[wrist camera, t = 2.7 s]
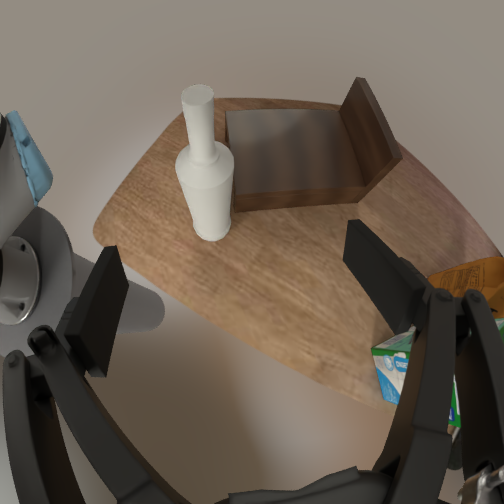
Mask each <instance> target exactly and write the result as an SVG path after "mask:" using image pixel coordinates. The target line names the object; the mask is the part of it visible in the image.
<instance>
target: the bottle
mask: <svg viewBox="0 0 504 504" xmlns="http://www.w3.org/2000/svg"><path fill="white" fill-rule="evenodd" d="M181 100H182V106H183V112H184V117H185V119H186V125H187V131H188V137H189V143H190V144H189V145H187V146H186V147H185V148H184V149H183V150H182V151H181V152H180V153H179V155H178V157H177V159H176V173H177V176H178V179H179V182H180V184H181V187H182V190H183V193H184V196H185V198H186V201H187V204H188V207H189V209H190V212H191V215H192V218H193V226H194V229H195V231H196V233H197V234H198V235H199V236H200V237H201V238H202V239H204V240H207V241H218V240H220V239H222V238H223V237H224V236H225V235H226V234H227V233H228V231H229V229H230V226H231V216H230V204H231V194H232V183H233V173H234V157H233V155H232V153H231V152H230V150H229V148H227V147H226V146H225V145H223V144H222V143H220V142H217V141H215V138H214V92H213V90H212V88H211V87H209V86H207V85H203V84H197V85H192V86H189V87H188V88H186V89H185V90H184V91H183V92H182V95H181Z"/></svg>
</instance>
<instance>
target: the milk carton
mask: <svg viewBox="0 0 504 504" xmlns="http://www.w3.org/2000/svg"><path fill="white" fill-rule="evenodd" d="M495 321H496V324H497V326H498V329H499V332H500V334H501V337H502V340H503V342H504V318H497V319H495ZM415 329H416V327H415V326H412V327H411V328H409V331H408V332H406V333H403V334H399V335H396V336H394V337H392V338H390V339H388V340H387V341H385V342H383V343H381V344H379V345H377V346H375V347H373V348H371V351H372V354H373V358H374V362H375V366H376V369H377V373H378V377H379V381H380V385H381V390H382V394H383V398H384V400H387V401H389V402H392V403H394V404H397V405H398V402H399V398H400V395H401V391H402V387H403V383H404V379H405V374H406V370H407V365H408V360H409V355H410V350H411V345H412V342H411V344H408V343H409V341H410V339H411V337H412V335H413V333H414V331H415ZM470 334H471V332H470ZM448 424H451V425H454V426H457V427H460V428H461V423H460V412H459V403H458V395H457V388H456V381H455V375H454V383H453V393H452V402H451V409H450V416H449V422H448Z"/></svg>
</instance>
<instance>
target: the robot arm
mask: <svg viewBox="0 0 504 504" xmlns="http://www.w3.org/2000/svg"><path fill="white" fill-rule="evenodd" d="M52 181H53V175H52V172H51V170H50V168H49V166H48V165H47V163H46V161H45V160H44V158H43V156H42V155H41V153H40V151H39V149H38V148H37V146H36V144H35V142H34V141H33V139H32V137H31V135H30V134H29V132H28V130H27V128H26V126H25V125H24V123H23V121H22V119H21V117H20V116H19V114H18V112H17V111H15V110H14V111H12V112H11V113H8V114H7V115H6V117H5V118H4V117H3V116H2V114H1V113H0V323H3V324H6V325H20V324H22V323H24V322H25V321H26V320H28V319H29V318H30V316H31V315H32V314H33V312H34V310H35V308H36V306H37V304H38V301H39V298H40V294H41V288H42V268H41V263H40V259H39V256H38V253H37V251H36V250H35V248H34V247H33V246H32V244H31V243H29V242H28V241H26V240H24V239H22V238H20V237H16V236H11V235H12V234H13V232H14V231H15V230H16V229H17V228H18V226H19V225H20V224H21V223H22V222H23V220H24V219H25V218H26V217H27V216H28V215H29V213H30V212H31V211H32V210H33V209H34V208H36V207H37V205H38V202H39V201H40V200H41V198H42V197H43V196H44V195H45V194H46V193H47V191H48V190H49V189H50V187H51V185H52ZM343 261H344V263H345V264H346V265H347V267H348V268H349V269H350V271H351V272H352V273H353V275H354V276H355V278H356V279H357V280H358V282H359V283H360V284H361V286H362V287H363V289H364V290H365V291H366V293H367V294H368V296H369V297H370V299H371V300H372V301H373V303H374V304H375V306H376V307H377V309H378V310H379V312H380V313H381V314H382V316H383V317H384V319H385V320H386V322H387V323H388V325H389V326H390V328H391V329H392V331H393V332H394V334H395V335H399V334H403V333H406V332H408V331H409V328H410V326H411V324H412V323H413V324H414V326H415V327H416V329H415V331H414V333H413V335H412V337H411V339H410V341H409V343H408V344H411V342H412V345H411V350H410V355H409V360H408V365H407V370H406V374H405V379H404V383H403V387H402V391H401V395H400V398H399V402H398V406H397V409H396V412H395V416H394V419H393V422H392V426H391V429H390V432H389V435H388V438H387V440H386V443H385V446H384V449H383V451H382V453H381V455H380V457H379V458H378V460H377V461H376V463H375V465H374V467H373V469H372V471H370V470H358V469H357V467H356V466H354V467H351V468H348V469H346V470H342V471H339V472H336V473H333V474H329V475H326V476H325V477H323V478H321V479H319V480H317V481H315V482H314V483H311V484H309V485H307V486H305V487H303V488H301V489H299V490H295V491H283V490H282V491H280V490H255V491H247V492H239V493H229V494H228V495H229V498H227V499H223V500H221V501H219V502H216V503H215V504H450V503H447V502H445V501H442V500H440V499H438V497H439V493H440V490H441V487H442V484H443V480H444V476H445V473H446V469H447V465H448V461H449V456H450V452H451V447H452V439H453V438H452V435H450V434H448V432H447V428H448V422H449V416H450V409H451V402H452V393H453V383H454V375H455V381H456V388H457V395H458V403H459V412H460V423H461V439H462V465H463V474H464V480H465V483H464V485H463V488H461V489H460V491H459V492H458V499H459V500H460V501H461V504H504V342H503V340H502V337H501V334H500V332H499V329H498V326H497V324H496V321H495V319H494V316H493V314H492V312H491V309H490V307H489V305H488V302H487V300H486V298H485V296H484V295H483V294H482V293H481V292H480V291H478V290H475V289H468V290H466V292H465V294H464V297H454V296H453V295H452V294H451V293H450V292H449V291H448V290H445V289H443V288H434V286H433V285H432V284H431V283H430V282H429V281H428V280H427V279H426V278H425V277H424V276H423V275H422V274H420V272H419V271H418V270H417V269H416V268H415V267H414V265H413V264H412V263H411V262H409V261H408V260H406V259H404V258H402V257H400V258H399V257H398V256H397V255H396V254H395V253H394V252H393V251H392V250H391V249H390V248H389V247H388V246H387V245H386V244H385V243H384V242H383V241H382V240H381V239H380V238H379V237H378V236H377V235H376V234H375V233H374V232H372V231H371V230H370V229H369V228H368V227H367V226H366V225H365V224H364V223H363V222H362V221H361V220H360V219H356V220H348V226H347V233H346V241H345V248H344V254H343ZM128 288H129V284H128V281H127V278H126V275H125V272H124V268H123V266H122V262H121V259H120V256H119V252H118V249H117V246H116V245H115V246H108V247H104V249H103V250H102V252H101V254H100V256H99V258H98V260H97V262H96V264H95V266H94V268H93V270H92V272H91V274H90V276H89V278H88V280H87V282H86V284H85V286H84V288H83V290H82V292H81V294H80V297H74V298H73V299H72V300H71V301H70V302H69V303H68V304H67V306H66V308H65V310H64V314H63V315H62V317H61V320H60V321H59V324H58V326H57V328H56V331H55V333H54V331H53V330H52V328H51V327H50V326H48V325H41V326H39V327H36V328H35V329H34V330H33V331H32V332H31V333H30V335H29V337H28V339H27V341H28V345H29V347H30V348H31V349H32V351H33V352H34V354H35V355H31V356H28V357H26V356H25V355H24V354H23V352H22V351H20V350H14V351H12V352H10V353H9V354H8V355H7V356H6V358H5V360H4V363H3V408H4V422H5V433H6V441H7V448H8V454H9V461H10V466H11V470H12V476H13V480H14V484H15V488H16V492H17V496H18V499H19V503H20V504H86V503H85V501H84V498H83V496H82V493H81V491H80V489H79V486H78V483H77V481H76V478H75V475H74V472H73V469H72V466H71V463H70V460H69V457H68V453H67V451H66V447H65V443H64V439H63V436H62V432H61V428H60V424H59V420H58V415H57V410H56V405H55V401H56V403H57V405H58V407H59V409H60V411H61V413H62V415H63V417H64V419H65V421H66V423H67V425H68V426H69V428H70V430H71V432H72V434H73V436H74V437H75V439H76V441H77V442H78V444H79V446H80V448H81V449H82V451H83V452H84V454H85V455H86V457H87V458H88V460H89V462H90V463H91V465H92V466H93V468H94V469H95V471H96V472H97V474H98V475H99V476H100V478H101V479H102V481H103V482H104V483H105V485H106V486H107V487H108V489H109V490H110V491H111V493H112V494H113V495H114V497H115V498H116V500H117V504H191V503H190V502H189V501H187V500H186V499H185V498H184V497H183V496H181V495H180V494H179V493H178V492H176V491H175V490H174V489H173V488H172V487H171V486H170V485H169V484H168V483H167V482H166V481H165V480H164V479H163V478H162V477H161V476H160V475H159V474H158V472H157V471H156V470H155V469H154V468H153V467H152V466H151V465H150V464H149V463H148V462H147V460H146V459H145V458H144V457H143V456H142V455H141V454H140V452H139V451H138V450H137V449H136V448H135V447H134V445H133V444H132V443H131V442H130V440H129V439H128V438H127V437H126V436H125V434H124V433H123V432H122V430H121V429H120V428H119V427H118V425H117V424H116V422H115V421H114V420H113V418H112V417H111V416H110V414H109V413H108V412H107V410H106V409H105V407H104V406H103V404H102V403H101V401H100V400H99V398H98V397H97V395H96V394H95V392H94V391H93V389H92V387H91V386H90V384H89V383H88V381H87V380H86V378H85V377H84V375H85V371H86V370H87V371H88V373H89V374H90V375H91V377H106V376H107V371H108V365H109V361H110V356H111V352H112V348H113V344H114V339H115V335H116V331H117V327H118V323H119V320H120V316H121V312H122V309H123V305H124V301H125V298H126V294H127V291H128ZM470 332H471V334H470ZM54 399H55V400H54Z"/></svg>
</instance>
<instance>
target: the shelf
mask: <svg viewBox="0 0 504 504" xmlns="http://www.w3.org/2000/svg"><path fill="white" fill-rule="evenodd" d="M225 139H226V142H228V144H229V150H230V152H231V153H232V155H233V157H234V173H233V183H234V211H235V213H236V212H246V211H256V210H266V209H278V208H289V207H301V206H315V205H329V204H344V203H358V202H359V201H360V200H361V199H362V198H363V197H364V196H365V195H366V194H367V193H368V192H369V191H370V190H371V189H372V188H373V187H375V186H376V185H377V184H378V183H379V182H380V181H381V180H382V179H383V178H384V177H385V176H386V175H387V174H388V173H389V172H390V171H391V170H392V169H393V168H394V167H395V166H396V165H397V164H398V163H399V162H400V161H401V160H402V159H403V157H402V155H401V152H400V150H399V148H398V145H397V143H396V140H395V138H394V136H393V134H392V131H391V129H390V127H389V125H388V122H387V120H386V118H385V116H384V114H383V112H382V110H381V108H380V106H379V104H378V102H377V100H376V98H375V96H374V94H373V92H372V90H371V88H370V87H369V85H368V83H367V81H366V79H365V78H360V77H356V79H355V80H354V82H353V84H352V87H351V88H350V90H349V92H348V94H347V96H346V98H345V100H344V102H343V104H342V106H341V108H340V110H339V111H334V110H314V109H258V110H237V111H225Z"/></svg>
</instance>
